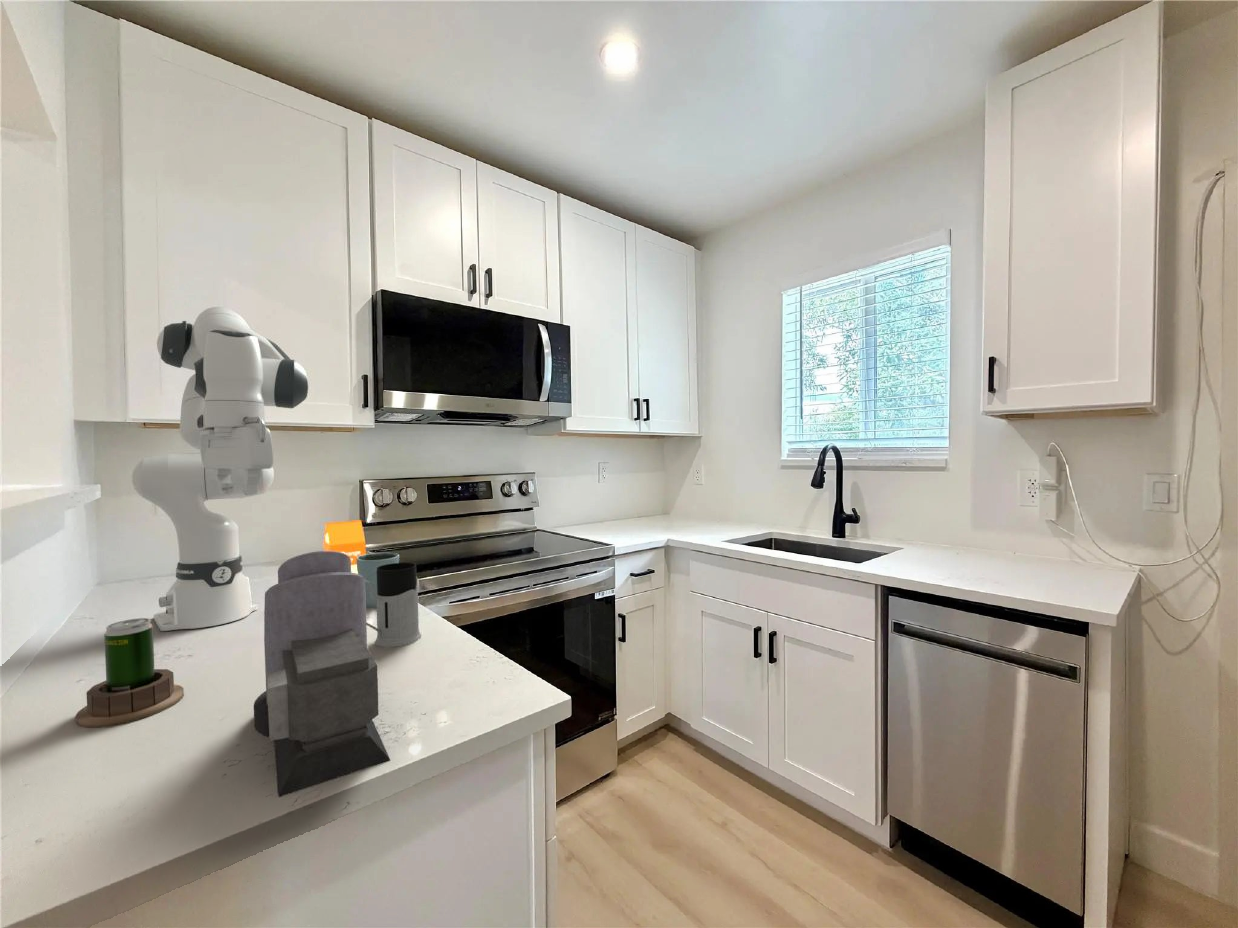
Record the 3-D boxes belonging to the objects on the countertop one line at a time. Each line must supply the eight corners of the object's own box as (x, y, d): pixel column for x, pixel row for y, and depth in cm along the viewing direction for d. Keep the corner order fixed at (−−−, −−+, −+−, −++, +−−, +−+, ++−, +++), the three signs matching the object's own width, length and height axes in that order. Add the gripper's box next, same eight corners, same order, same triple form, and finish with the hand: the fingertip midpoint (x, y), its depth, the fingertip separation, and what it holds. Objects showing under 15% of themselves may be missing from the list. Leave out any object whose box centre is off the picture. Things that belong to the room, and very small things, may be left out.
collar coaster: (65, 713, 78) (64, 688, 78) (166, 682, 88) (166, 660, 88) (90, 735, 71) (89, 708, 71) (196, 699, 82) (196, 675, 82)
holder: (430, 636, 108) (428, 564, 108) (364, 659, 97) (361, 579, 96) (405, 628, 113) (403, 560, 113) (339, 650, 102) (337, 573, 101)
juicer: (254, 700, 81) (248, 544, 81) (366, 674, 90) (362, 533, 90) (254, 806, 57) (246, 583, 56) (409, 755, 66) (403, 562, 65)
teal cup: (370, 596, 140) (369, 552, 139) (407, 596, 139) (406, 551, 139) (348, 608, 129) (347, 560, 129) (388, 608, 129) (387, 559, 129)
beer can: (147, 704, 79) (144, 625, 78) (100, 712, 76) (96, 631, 76) (160, 690, 83) (158, 615, 83) (116, 697, 81) (113, 620, 81)
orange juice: (367, 594, 142) (365, 521, 141) (330, 600, 136) (328, 524, 136) (359, 588, 148) (357, 518, 147) (324, 594, 142) (322, 521, 142)
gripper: (282, 416, 93) (285, 494, 93) (230, 421, 104) (232, 491, 104) (242, 415, 87) (245, 497, 88) (191, 420, 98) (194, 493, 99)
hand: (238, 493), depth 96 cm, fingers open, 8 cm apart
